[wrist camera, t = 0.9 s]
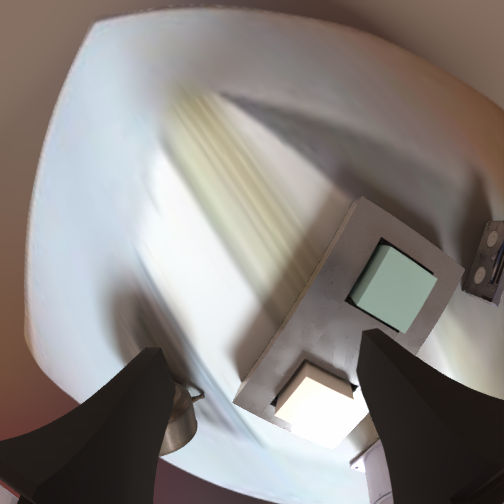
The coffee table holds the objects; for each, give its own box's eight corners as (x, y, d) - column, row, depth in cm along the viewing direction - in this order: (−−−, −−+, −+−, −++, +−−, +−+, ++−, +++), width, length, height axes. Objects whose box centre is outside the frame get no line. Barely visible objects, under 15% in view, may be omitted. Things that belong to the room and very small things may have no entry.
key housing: (446, 264, 23) (465, 269, 19) (330, 426, 26) (332, 448, 22) (353, 201, 24) (361, 195, 20) (241, 382, 28) (232, 402, 24)
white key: (348, 377, 23) (354, 399, 20) (319, 412, 24) (320, 436, 20) (306, 355, 24) (306, 376, 20) (278, 392, 25) (274, 415, 21)
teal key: (418, 272, 22) (437, 279, 18) (391, 318, 22) (404, 333, 18) (377, 244, 22) (390, 246, 18) (348, 293, 23) (356, 305, 19)
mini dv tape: (469, 295, 22) (499, 308, 16) (461, 290, 23) (491, 302, 17) (493, 227, 21) (526, 227, 15) (486, 221, 21) (518, 220, 16)
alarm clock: (138, 395, 31) (62, 463, 15) (128, 360, 30) (38, 421, 14) (214, 406, 29) (154, 505, 13) (207, 368, 28) (130, 465, 12)
